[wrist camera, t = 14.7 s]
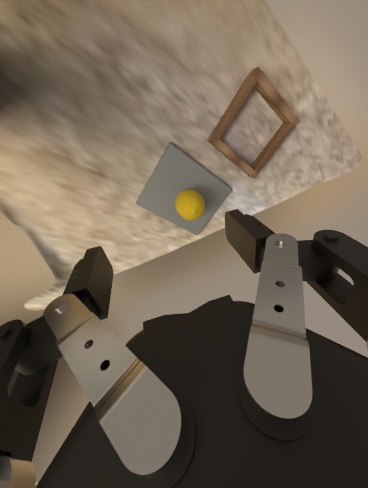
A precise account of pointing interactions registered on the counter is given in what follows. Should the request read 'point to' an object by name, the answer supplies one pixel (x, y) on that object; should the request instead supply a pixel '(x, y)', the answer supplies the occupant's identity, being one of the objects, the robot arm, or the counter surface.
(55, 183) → the counter surface
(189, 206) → the lemon
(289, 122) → the walnut collar
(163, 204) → the grey rectangular plate
